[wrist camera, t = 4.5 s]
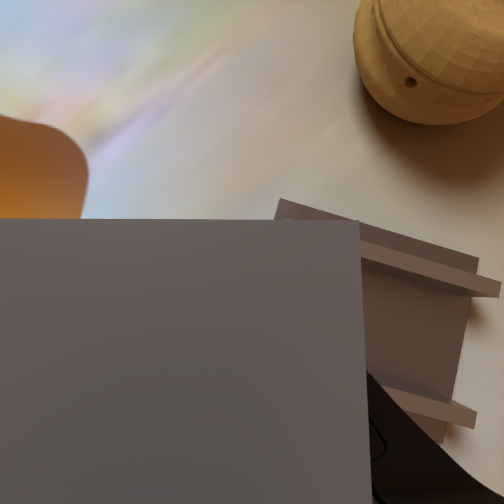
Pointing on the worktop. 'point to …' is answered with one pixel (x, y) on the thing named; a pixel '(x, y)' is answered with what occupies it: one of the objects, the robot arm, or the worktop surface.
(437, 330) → the bracket
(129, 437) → the gray rectangular block
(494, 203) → the worktop surface
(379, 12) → the pot
